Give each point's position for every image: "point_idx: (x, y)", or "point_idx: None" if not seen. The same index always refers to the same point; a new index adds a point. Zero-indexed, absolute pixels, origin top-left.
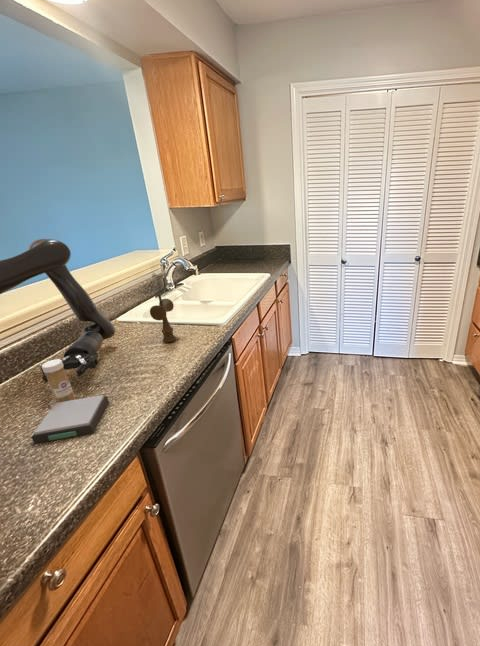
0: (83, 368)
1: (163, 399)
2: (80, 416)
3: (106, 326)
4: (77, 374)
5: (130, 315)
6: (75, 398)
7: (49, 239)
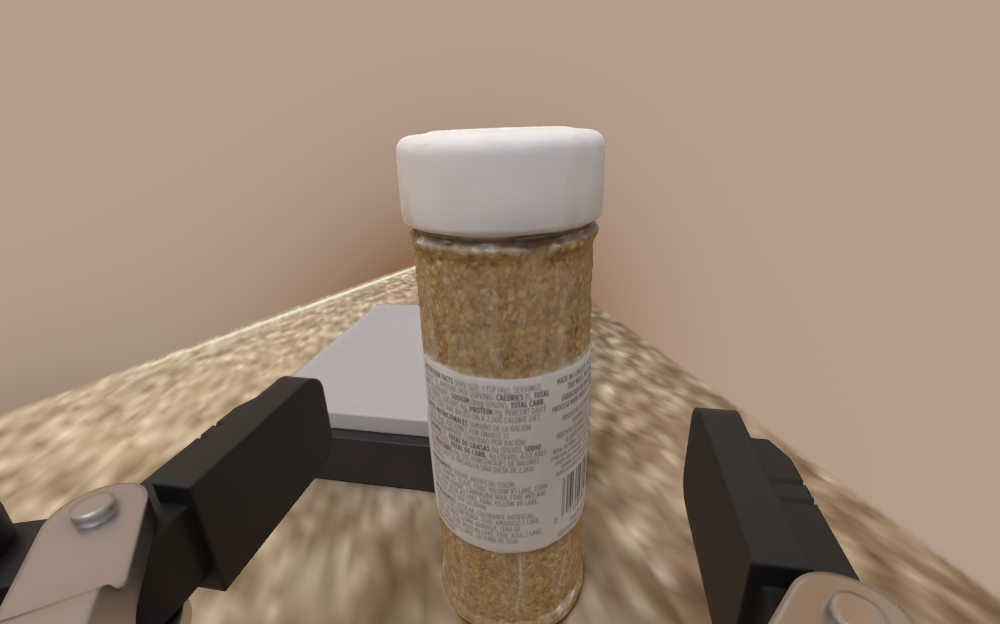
0: (214, 429)
1: (47, 401)
2: (400, 325)
3: None
4: (324, 412)
5: None
6: (443, 572)
7: None
